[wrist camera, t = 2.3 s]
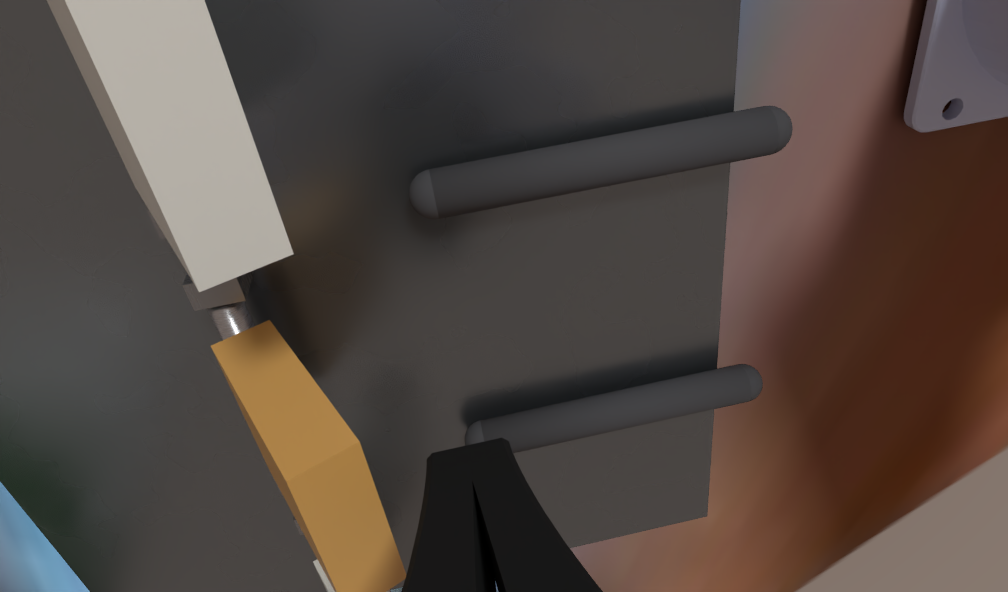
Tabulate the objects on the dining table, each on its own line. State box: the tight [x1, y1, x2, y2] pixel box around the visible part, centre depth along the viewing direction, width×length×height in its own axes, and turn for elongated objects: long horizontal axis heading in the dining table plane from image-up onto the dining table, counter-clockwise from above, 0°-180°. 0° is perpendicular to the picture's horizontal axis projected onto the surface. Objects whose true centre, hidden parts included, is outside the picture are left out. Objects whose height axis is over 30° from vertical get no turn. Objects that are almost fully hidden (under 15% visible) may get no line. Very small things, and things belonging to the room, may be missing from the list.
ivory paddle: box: [47, 0, 294, 292], centre depth 9 cm, size 1×4×4 cm, turn 7°
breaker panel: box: [0, 0, 741, 592], centre depth 16 cm, size 18×20×3 cm
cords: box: [409, 106, 792, 453], centre depth 16 cm, size 8×8×1 cm
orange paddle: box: [211, 320, 406, 592], centre depth 13 cm, size 1×4×4 cm, turn 8°
